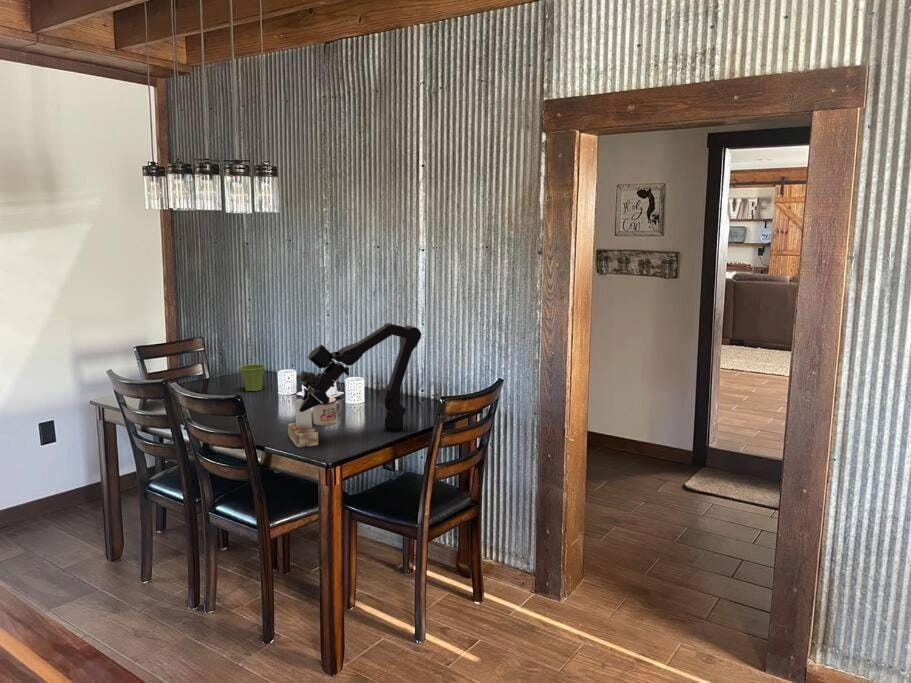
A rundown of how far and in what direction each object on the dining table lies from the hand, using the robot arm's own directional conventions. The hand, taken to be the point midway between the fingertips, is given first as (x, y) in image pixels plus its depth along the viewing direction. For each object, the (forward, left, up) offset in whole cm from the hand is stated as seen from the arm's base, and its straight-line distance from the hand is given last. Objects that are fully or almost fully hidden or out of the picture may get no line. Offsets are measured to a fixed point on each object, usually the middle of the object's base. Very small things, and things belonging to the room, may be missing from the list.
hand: (299, 410), depth 254 cm
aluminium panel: (-1, 0, -7) cm, 7 cm away
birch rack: (-1, 0, -11) cm, 11 cm away
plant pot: (+33, -81, -11) cm, 88 cm away
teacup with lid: (-7, -24, -11) cm, 28 cm away
